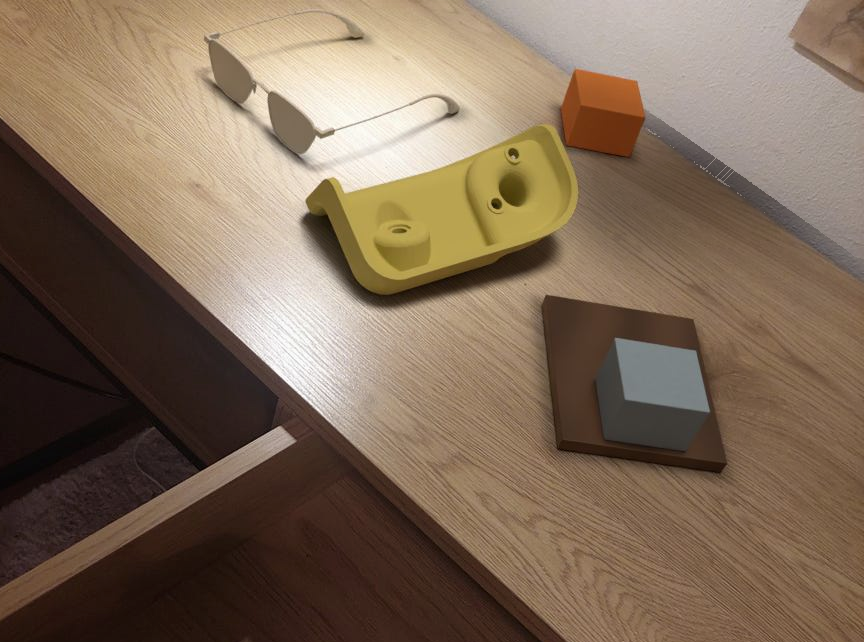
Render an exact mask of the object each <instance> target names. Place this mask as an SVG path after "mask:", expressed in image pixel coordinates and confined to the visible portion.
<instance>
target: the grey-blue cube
mask: <svg viewBox="0 0 864 642" xmlns="http://www.w3.org/2000/svg"><path fill="white" fill-rule="evenodd" d="M595 381H596V388H597V394H598V401H599V408H600V415H601V422H602V429H603V435H604V439H605V440H610V441H617V442H624V443H631V444H638V445H645V446H651V447H658V448H665V449H672V450H679V451H686V450H687V449H688V447H689V445H690V444H691V442H692V441H693V439H694V437H695V436H696V434H697V433H698V431H699V429H700V428H701V426H702V425H703V423H704V421H705V420H706V418H707V416H708V415H709V413H710V409H709V405H708V401H707V396H706V392H705V388H704V383H703V379H702V375H701V370H700V366H699V362H698V357H697V353H696V351H695V350H688V349H682V348H676V347H670V346H664V345H657V344H651V343H645V342H639V341H632V340H626V339H620V338H615V339H614V341H613V343H612V345H611V347H610V349H609V351H608V353H607V355H606V357H605V359H604V361H603V363H602V366H601V368H600V370H599V372H598V374H597V376H596V378H595Z"/></svg>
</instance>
